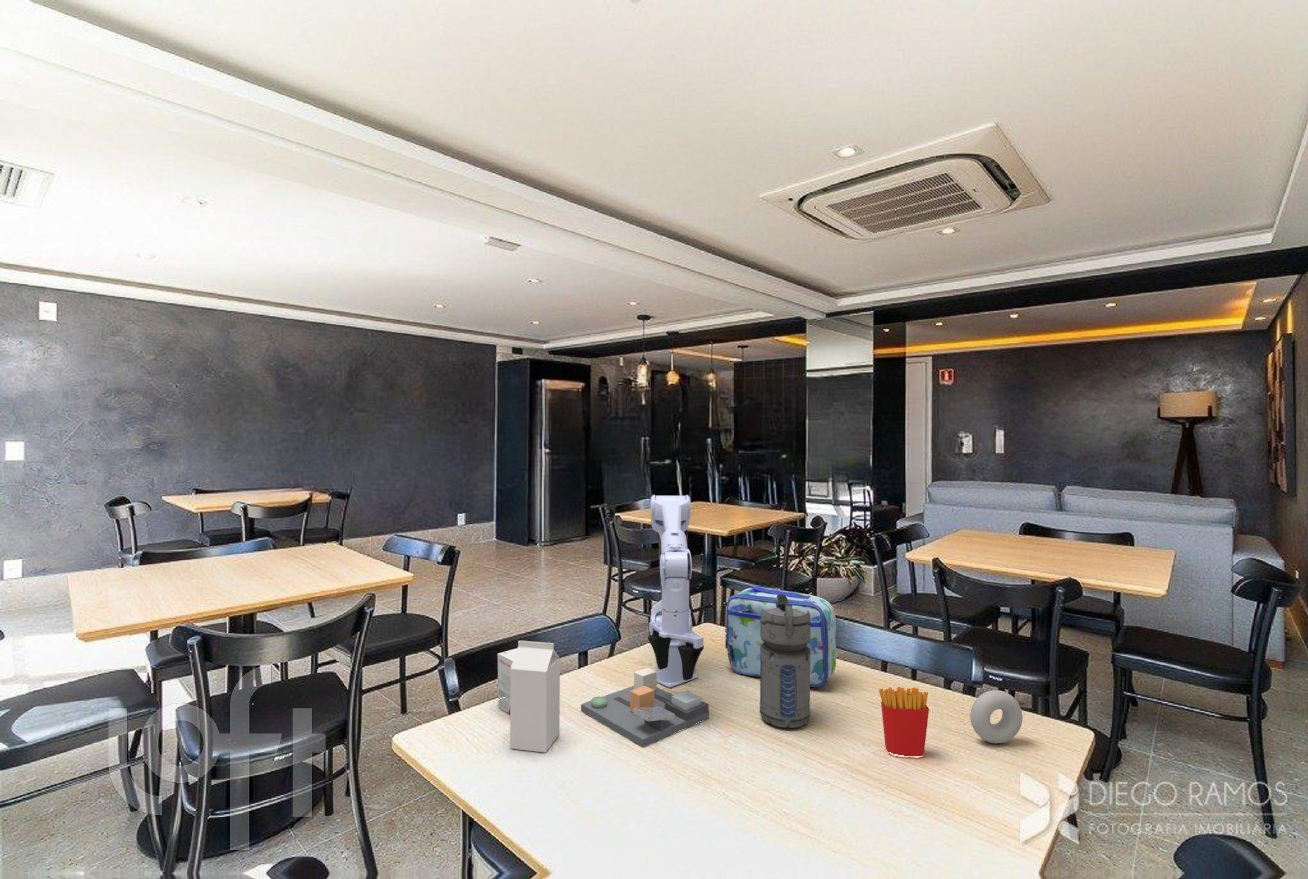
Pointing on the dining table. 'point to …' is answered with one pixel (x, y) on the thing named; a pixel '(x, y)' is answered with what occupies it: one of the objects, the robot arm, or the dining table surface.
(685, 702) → the grey button
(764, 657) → the beverage bottle
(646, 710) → the aluminium rocker
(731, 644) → the lunch box
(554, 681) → the milk carton
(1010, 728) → the donut
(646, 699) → the terracotta slider
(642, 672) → the ivory slider
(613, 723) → the control board
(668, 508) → the robot arm
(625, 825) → the dining table surface
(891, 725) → the french fries
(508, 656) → the ink box
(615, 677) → the dining table surface
